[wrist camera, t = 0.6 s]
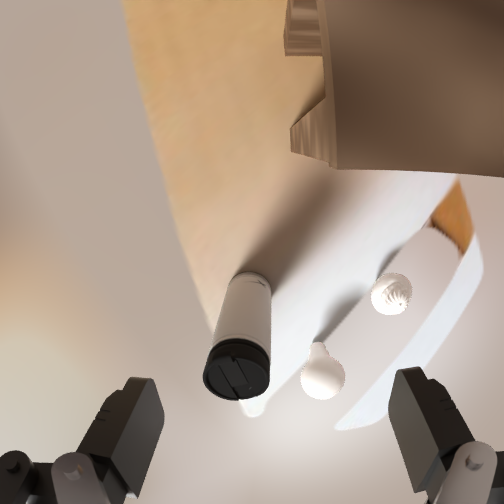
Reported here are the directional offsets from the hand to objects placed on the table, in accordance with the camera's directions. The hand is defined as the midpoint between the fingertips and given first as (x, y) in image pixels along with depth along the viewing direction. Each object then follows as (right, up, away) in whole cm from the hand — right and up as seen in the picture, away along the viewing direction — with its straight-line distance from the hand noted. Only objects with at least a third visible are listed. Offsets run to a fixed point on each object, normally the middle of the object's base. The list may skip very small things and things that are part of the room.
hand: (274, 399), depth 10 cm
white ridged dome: (+19, 0, +36) cm, 40 cm away
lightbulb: (+9, -10, +39) cm, 42 cm away
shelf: (+8, +25, +27) cm, 38 cm away
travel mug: (-1, -1, +37) cm, 37 cm away
